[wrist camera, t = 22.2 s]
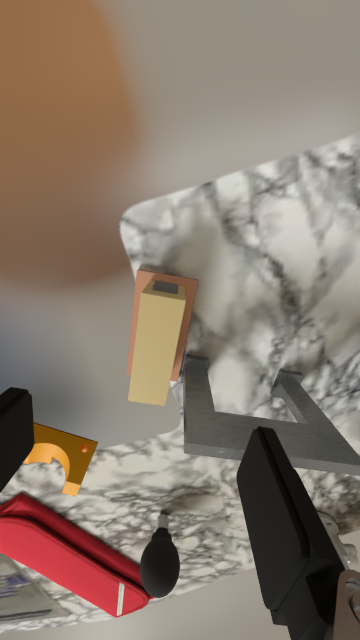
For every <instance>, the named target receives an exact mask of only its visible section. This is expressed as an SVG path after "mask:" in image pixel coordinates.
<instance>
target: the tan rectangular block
mask: <svg viewBox="0 0 360 640" xmlns="http://www.w3.org/2000/svg"><path fill="white" fill-rule="evenodd" d="M185 302H186V297H185V287H183V286H178V284H173V283H168V282H162V281H157V280H156V281H150V282H149V283H148V284H147V286H146V287H145V288H144V289H143V291H142V292H141V297H140V305H139V313H138V322H137V330H136V339H135V347H134V355H133V364H132V372H131V381H130V389H129V397H128V401H133V402H140V403H147V404H154V405H161V406H165V403H166V398H167V393H168V388H169V383H170V378H171V373H172V368H173V363H174V358H175V353H176V348H177V343H178V338H179V333H180V328H181V323H182V318H183V313H184V308H185Z"/></svg>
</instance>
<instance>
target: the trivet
mask: <svg viewBox="0 0 360 640" xmlns="http://www.w3.org/2000/svg"><path fill="white" fill-rule="evenodd" d="M156 280H157V281H162V282H168V283H173V284H178V286H183V287H185V297H186V302H185V308H184V313H183V318H182V323H181V328H180V333H179V338H178V343H177V348H176V353H175V358H174V363H173V368H172V373H171V378H170V381H177V382H178V377H179V372H180V367H181V362H182V358H183V353H184V348H185V343H186V338H187V333H188V328H189V323H190V319H191V314H192V309H193V304H194V299H195V294H196V289H197V285H198V280H195V279H189V278H183V277H178V276H172V275H166V274H161V273H155V272H150V271H144V270H137V276H136V286H135V295H134V305H133V315H132V325H131V335H130V345H129V355H128V365H127V374H130V375H131V372H132V364H133V355H134V347H135V339H136V330H137V322H138V313H139V305H140V297H141V292H142V291H143V289H144V288H145V287H146V286H147V284H148V283H149V282H150V281H156Z"/></svg>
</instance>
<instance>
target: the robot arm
mask: <svg viewBox="0 0 360 640" xmlns="http://www.w3.org/2000/svg"><path fill="white" fill-rule="evenodd" d="M34 444H35V440H34V424H33V409H32V396H31V394H29V392H28V390H26V389H20V388H13V387H11V388H9V389H7V390H6V391H5V392H4V393H2V394H1V395H0V493H1V491H2V490H3V489H4V487H5V486H6V485H7V483H8V482H9V481H10V479H11V478H12V477H13V475H14V474H15V473H16V471H17V470H18V469H19V467H20V466H21V465H22V463H23V462H24V461H25V459H26V458H27V457H28V455H29V454H30V453H31V451H32V449H33V447H34ZM237 485H238V489H239V494H240V498H241V503H242V507H243V512H244V516H245V521H246V525H247V530H248V534H249V539H250V543H251V548H252V552H253V557H254V561H255V566H256V570H257V575H258V579H259V584H260V588H261V593H262V597H263V601H264V604H265V606H266V607H267V609H270V612H271V616H272V620H273V624H276V625H284V626H288V630H289V634H290V638H291V640H360V573H359V572H357V571H355V570H350V568H349V566H348V564H351V565H357V564H358V558H357V550H356V547H355V546H354V545H352V544H343V543H342V542H341V541H340V539H339V537H338V533H339V530H338V527H337V525H336V523H335V521H334V520H333V519H332V518H331V517H330V516H328V515H326V514H324V513H320V512H317V511H316V509H315V507H314V505H313V503H312V501H311V499H310V497H309V495H308V493H307V491H306V489H305V487H304V485H303V483H302V481H301V479H300V477H299V475H298V473H297V472H296V470H295V469H294V468H293V467H292V465H291V463H290V461H289V459H288V457H287V455H286V453H285V451H284V449H283V446H282V444H281V442H280V440H279V438H278V436H277V434H276V432H275V431H274V429H273V428H268V427H262V426H258V427H257V429H254V430H253V431H252V434H251V437H250V439H249V442H248V445H247V447H246V450H245V453H244V455H243V458H242V461H241V463H240V466H239V469H238V472H237Z"/></svg>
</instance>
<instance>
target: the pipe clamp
mask: <svg viewBox="0 0 360 640" xmlns="http://www.w3.org/2000/svg"><path fill="white" fill-rule="evenodd" d="M33 424H34V440H35V444H34V447H33V449H32V451H31V453H30V454H29V455H28V457H27V458H26V459H25V461H24V462H23V463H26V464H28V463H33V462H44V463H48V464H50V463H51V461H52V460H53V458H56V459H57V460H58V461H59V462H60V463H61V464H62V466H63V468H64V470H65V476H66V479H65V486H64V488H63V491H62V493H64V494H68V495H72V496H76V495H77V493H78V490H79V488H80V485H81V483H82V481H83V478H84V476H85V473H86V471H87V468H88V466H89V463H90V461H91V459H92V456H93V454H94V451H95V449H96V446H97V444H98V442H97V441H94V440H91V439H87V438H84V437H81V436H77V435H74V434H71V433H68V432H64V431H61V430H58V429H54V428H51V427H48V426H45V425H41V424H38V423H35V422H33Z"/></svg>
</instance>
